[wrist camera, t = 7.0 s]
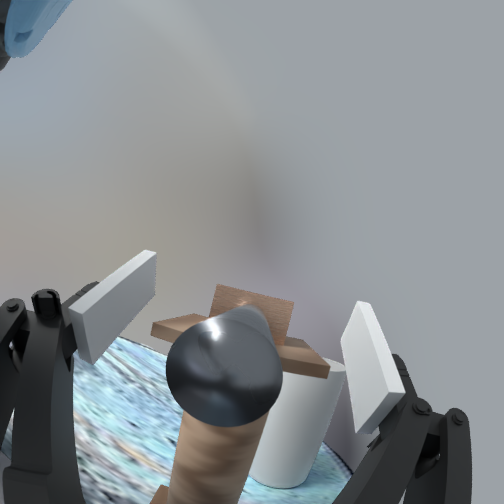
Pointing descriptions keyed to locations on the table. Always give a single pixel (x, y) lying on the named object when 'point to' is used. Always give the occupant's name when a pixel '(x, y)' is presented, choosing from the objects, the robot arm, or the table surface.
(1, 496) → the rubber mat
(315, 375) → the bobbin stand
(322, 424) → the cylinder vase
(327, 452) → the table surface
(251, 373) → the wooden mallet
